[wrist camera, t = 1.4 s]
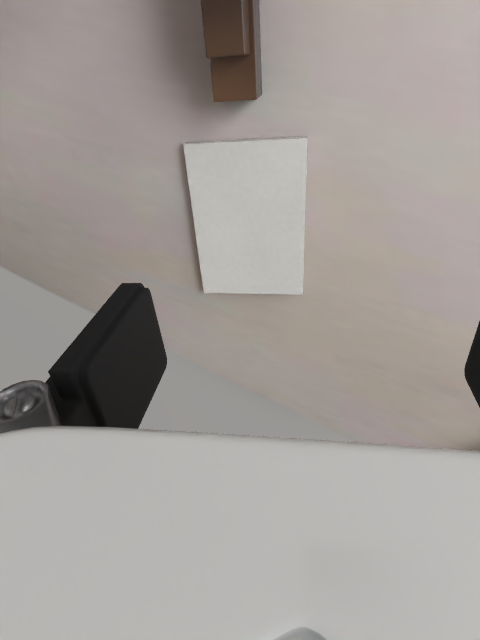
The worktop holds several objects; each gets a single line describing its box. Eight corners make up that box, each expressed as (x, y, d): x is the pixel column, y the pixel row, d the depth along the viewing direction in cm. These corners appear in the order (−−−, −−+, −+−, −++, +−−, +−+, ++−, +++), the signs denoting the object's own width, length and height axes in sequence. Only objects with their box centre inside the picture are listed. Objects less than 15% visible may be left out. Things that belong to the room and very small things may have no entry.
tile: (186, 142, 32) (182, 144, 31) (307, 135, 30) (307, 138, 29) (205, 288, 39) (203, 293, 39) (302, 289, 38) (302, 294, 37)
